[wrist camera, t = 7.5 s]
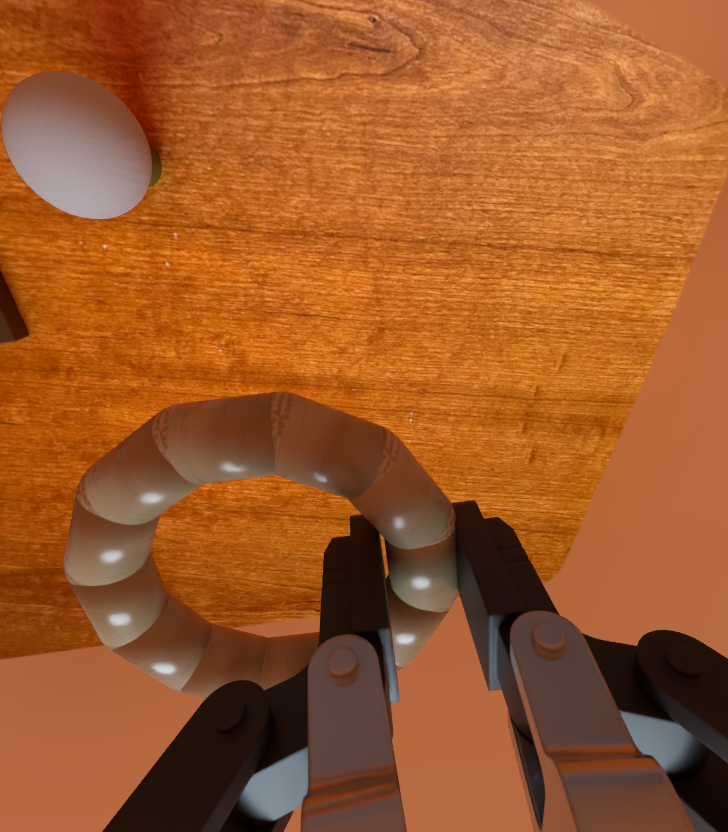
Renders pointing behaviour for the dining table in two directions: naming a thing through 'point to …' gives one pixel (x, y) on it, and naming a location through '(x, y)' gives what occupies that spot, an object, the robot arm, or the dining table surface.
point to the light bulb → (78, 145)
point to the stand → (9, 317)
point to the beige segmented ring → (240, 459)
